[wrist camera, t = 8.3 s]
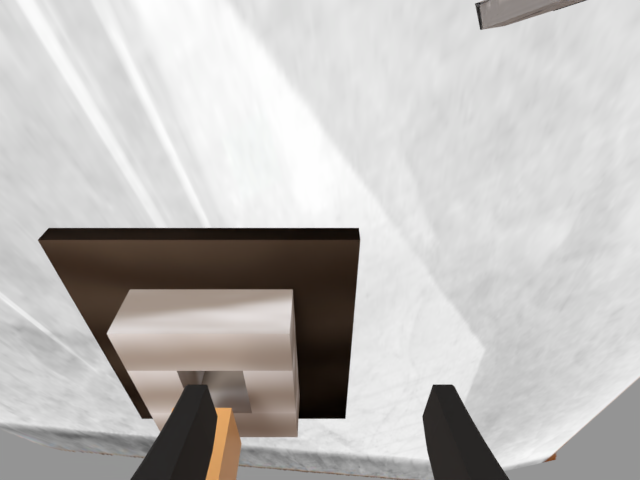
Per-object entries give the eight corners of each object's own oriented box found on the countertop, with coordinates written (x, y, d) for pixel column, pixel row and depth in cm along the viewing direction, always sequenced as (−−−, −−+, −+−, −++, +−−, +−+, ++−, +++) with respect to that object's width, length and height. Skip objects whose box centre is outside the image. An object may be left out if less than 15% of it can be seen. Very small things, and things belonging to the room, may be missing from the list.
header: (48, 227, 20) (-2, 283, 17) (358, 227, 20) (365, 282, 17) (146, 406, 31) (127, 459, 28) (344, 406, 31) (347, 459, 28)
